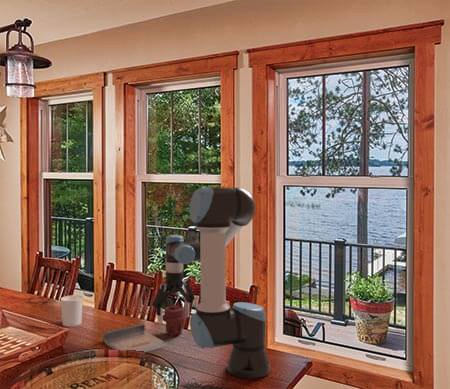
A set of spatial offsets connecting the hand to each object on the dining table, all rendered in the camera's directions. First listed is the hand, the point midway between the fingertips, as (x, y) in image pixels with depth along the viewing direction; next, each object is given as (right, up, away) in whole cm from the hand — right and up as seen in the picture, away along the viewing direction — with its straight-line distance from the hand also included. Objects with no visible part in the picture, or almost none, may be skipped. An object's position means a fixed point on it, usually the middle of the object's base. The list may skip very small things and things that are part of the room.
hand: (173, 319), depth 192 cm
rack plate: (-15, -7, -12) cm, 20 cm away
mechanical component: (0, -7, 0) cm, 7 cm away
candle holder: (-48, -6, +12) cm, 50 cm away
